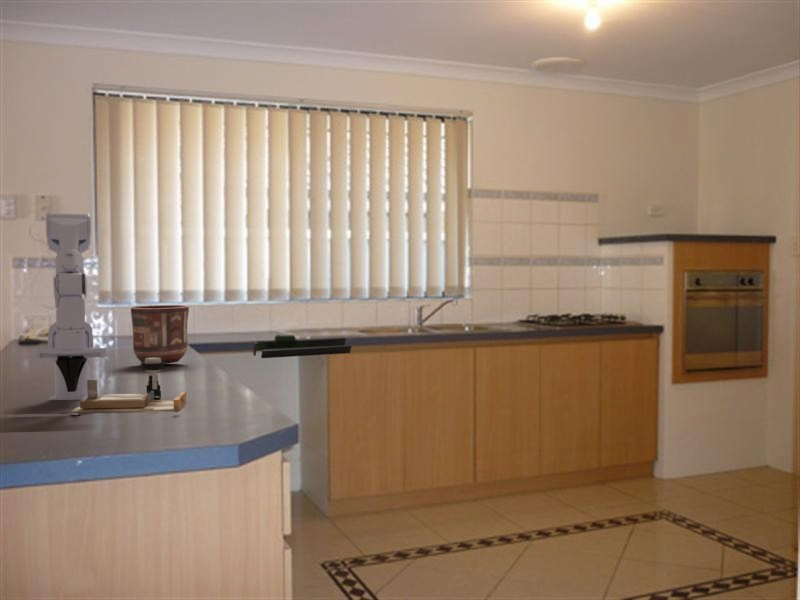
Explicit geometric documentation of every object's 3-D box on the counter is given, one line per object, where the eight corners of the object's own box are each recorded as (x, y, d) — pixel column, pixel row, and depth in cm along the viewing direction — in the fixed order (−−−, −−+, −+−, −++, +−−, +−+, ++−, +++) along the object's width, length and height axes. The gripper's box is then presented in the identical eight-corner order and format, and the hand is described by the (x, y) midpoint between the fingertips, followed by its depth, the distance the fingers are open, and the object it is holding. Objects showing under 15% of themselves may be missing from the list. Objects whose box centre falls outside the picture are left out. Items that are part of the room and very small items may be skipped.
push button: (169, 402, 181) (168, 359, 181) (145, 404, 179) (144, 360, 178) (162, 398, 187) (162, 356, 187) (139, 400, 184) (138, 357, 184)
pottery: (172, 365, 246) (171, 308, 245) (121, 364, 249) (120, 307, 249) (198, 359, 263) (197, 305, 262) (150, 357, 267) (149, 304, 266)
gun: (351, 359, 281) (356, 340, 278) (257, 365, 264) (260, 345, 261) (345, 350, 286) (349, 331, 283) (251, 355, 269) (254, 335, 266)
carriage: (90, 401, 175) (90, 377, 175) (150, 400, 176) (150, 376, 176) (80, 408, 167) (79, 382, 167) (143, 407, 168) (143, 381, 168)
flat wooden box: (85, 406, 176) (85, 393, 176) (186, 404, 179) (186, 391, 179) (70, 416, 165) (70, 401, 165) (178, 413, 168) (178, 399, 168)
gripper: (29, 330, 165) (30, 394, 166) (100, 329, 167) (102, 393, 167) (40, 327, 172) (41, 389, 173) (109, 326, 174) (110, 388, 174)
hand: (72, 391), depth 170 cm, fingers closed
